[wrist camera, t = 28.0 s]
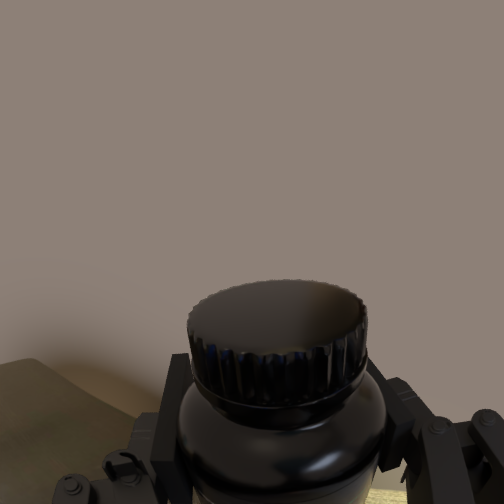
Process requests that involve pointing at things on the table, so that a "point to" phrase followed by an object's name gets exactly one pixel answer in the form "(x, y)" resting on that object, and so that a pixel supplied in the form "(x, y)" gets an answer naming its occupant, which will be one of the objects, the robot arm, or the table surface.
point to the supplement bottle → (281, 396)
